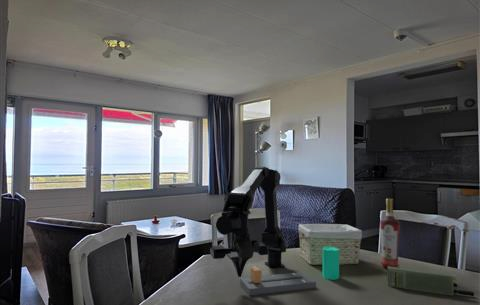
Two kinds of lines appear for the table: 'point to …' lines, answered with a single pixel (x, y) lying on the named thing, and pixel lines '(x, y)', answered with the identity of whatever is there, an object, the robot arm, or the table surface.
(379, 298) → the table surface
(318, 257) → the storage basket
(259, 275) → the fader knob
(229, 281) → the table surface
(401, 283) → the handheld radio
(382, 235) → the liquor
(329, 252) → the candle
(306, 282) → the fader panel
